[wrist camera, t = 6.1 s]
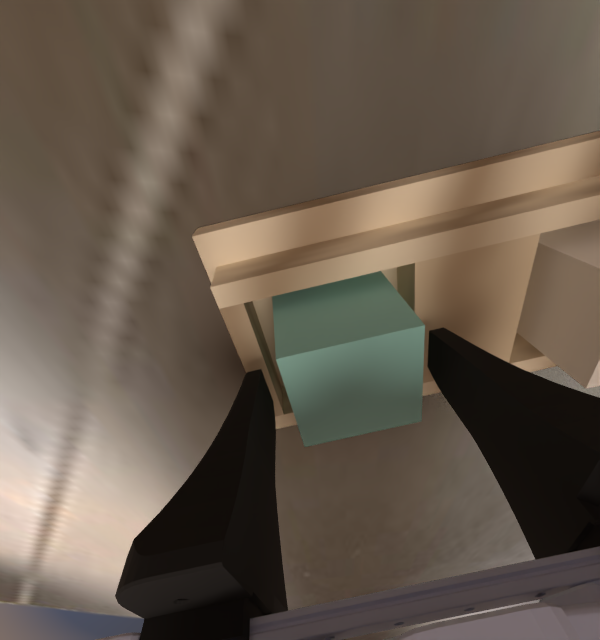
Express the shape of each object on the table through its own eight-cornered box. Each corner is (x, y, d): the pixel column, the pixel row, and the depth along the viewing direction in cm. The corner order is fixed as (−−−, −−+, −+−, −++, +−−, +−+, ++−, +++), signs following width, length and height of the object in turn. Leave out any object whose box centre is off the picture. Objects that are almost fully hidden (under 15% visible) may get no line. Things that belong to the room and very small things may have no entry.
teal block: (376, 265, 14) (424, 324, 10) (381, 347, 17) (421, 421, 13) (271, 289, 14) (276, 359, 10) (294, 367, 17) (304, 447, 13)
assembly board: (693, 107, 13) (806, 103, 10) (597, 330, 19) (651, 362, 17) (197, 228, 13) (181, 253, 11) (267, 404, 20) (268, 448, 17)
